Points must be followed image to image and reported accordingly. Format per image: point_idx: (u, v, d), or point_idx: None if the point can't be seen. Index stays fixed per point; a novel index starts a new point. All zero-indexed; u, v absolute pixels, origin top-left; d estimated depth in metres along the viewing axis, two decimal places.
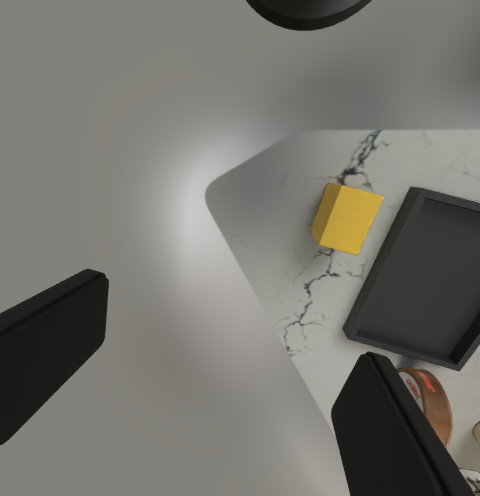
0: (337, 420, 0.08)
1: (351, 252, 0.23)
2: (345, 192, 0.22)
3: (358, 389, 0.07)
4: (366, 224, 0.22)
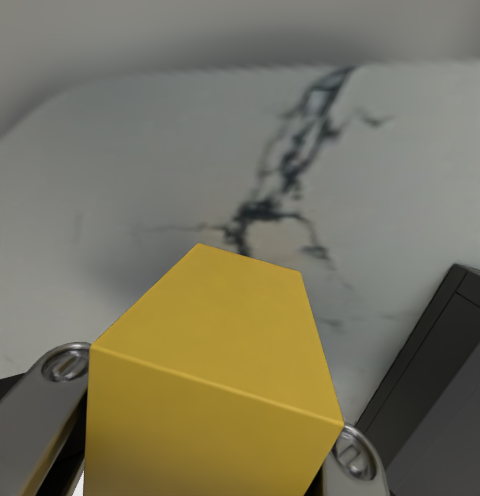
0: None
1: None
2: (120, 382, 0.04)
3: None
4: None
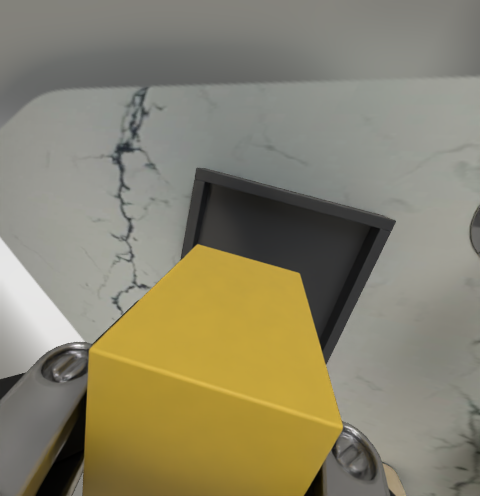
0: None
1: None
2: (119, 384, 0.04)
3: None
4: None
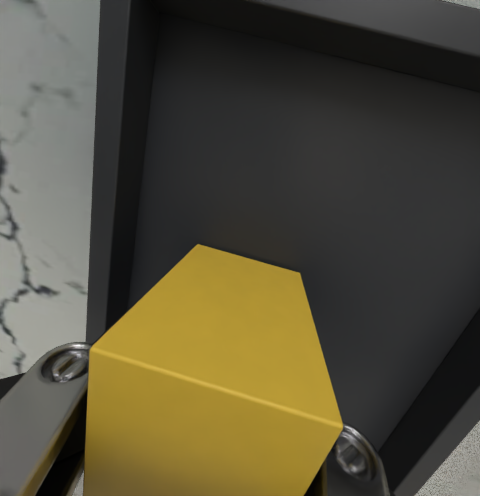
0: None
1: None
2: (120, 384, 0.04)
3: None
4: None
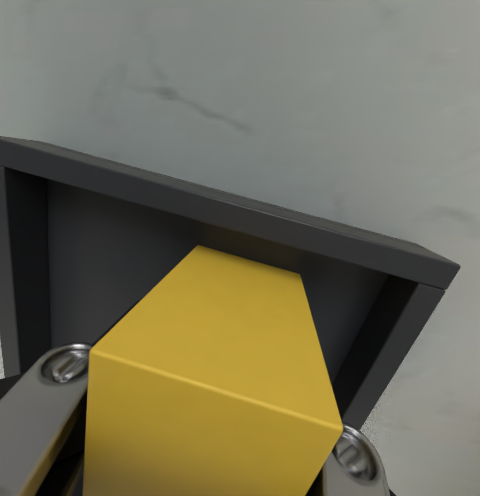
0: None
1: None
2: (119, 386, 0.04)
3: None
4: None
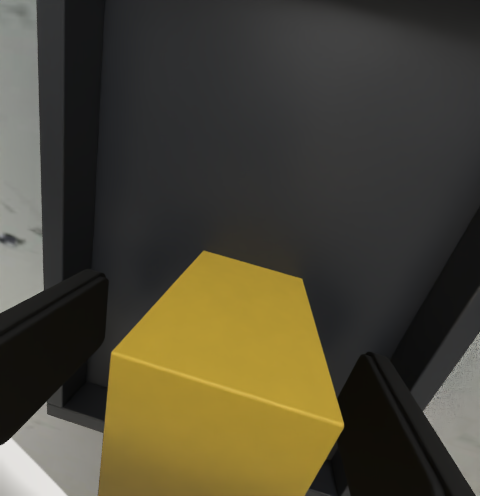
0: None
1: None
2: (138, 385, 0.04)
3: (358, 389, 0.07)
4: None
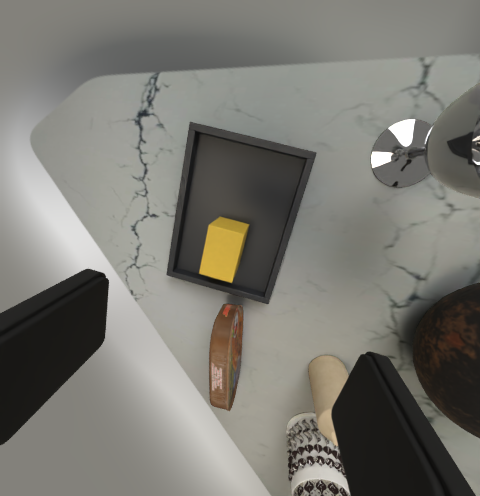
0: (337, 420, 0.08)
1: (226, 280, 0.27)
2: (212, 230, 0.25)
3: (358, 389, 0.07)
4: (234, 257, 0.26)
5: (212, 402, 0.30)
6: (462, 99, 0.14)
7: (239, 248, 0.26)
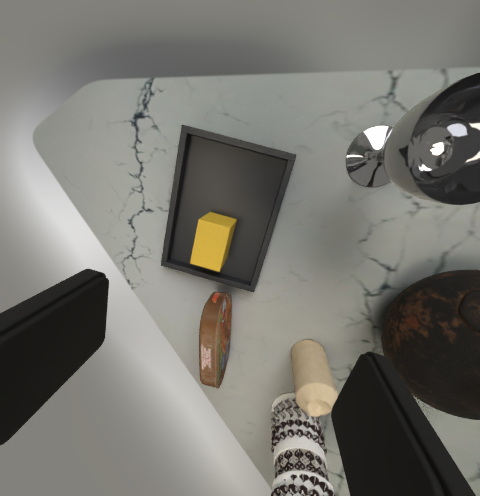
0: (337, 420, 0.08)
1: (214, 269, 0.30)
2: (202, 224, 0.28)
3: (358, 389, 0.07)
4: (221, 248, 0.29)
5: (202, 380, 0.34)
6: (406, 116, 0.17)
7: (226, 240, 0.29)
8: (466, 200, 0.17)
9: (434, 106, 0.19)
